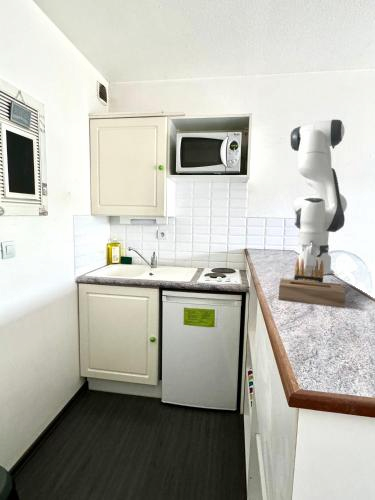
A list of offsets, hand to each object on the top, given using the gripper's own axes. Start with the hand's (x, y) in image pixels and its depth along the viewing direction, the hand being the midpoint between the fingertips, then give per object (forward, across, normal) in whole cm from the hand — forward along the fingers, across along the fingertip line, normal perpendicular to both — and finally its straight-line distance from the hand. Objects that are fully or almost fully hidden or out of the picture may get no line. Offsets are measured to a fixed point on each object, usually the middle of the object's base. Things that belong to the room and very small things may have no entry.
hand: (308, 274), depth 110 cm
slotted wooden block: (+6, -14, 0) cm, 15 cm away
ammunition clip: (+6, 0, 0) cm, 6 cm away
